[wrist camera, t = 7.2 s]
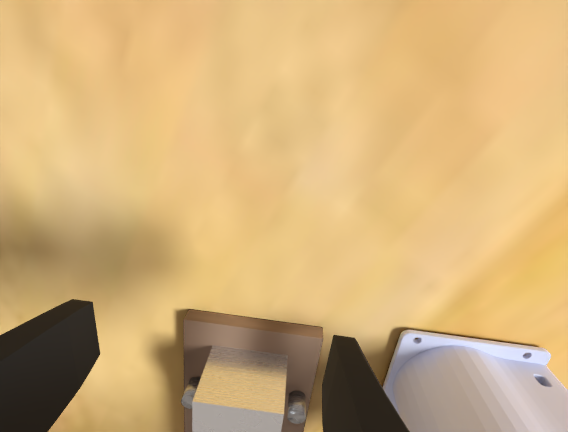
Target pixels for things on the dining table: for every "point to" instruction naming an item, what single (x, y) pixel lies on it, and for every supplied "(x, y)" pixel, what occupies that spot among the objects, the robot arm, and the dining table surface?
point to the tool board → (257, 337)
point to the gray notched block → (240, 392)
